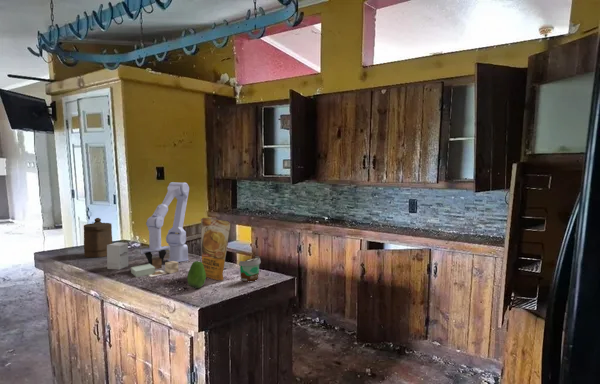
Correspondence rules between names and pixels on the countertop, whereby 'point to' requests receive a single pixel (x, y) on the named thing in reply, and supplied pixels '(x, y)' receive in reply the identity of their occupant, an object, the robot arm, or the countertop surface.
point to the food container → (249, 269)
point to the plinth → (143, 270)
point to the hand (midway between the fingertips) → (155, 265)
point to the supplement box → (117, 255)
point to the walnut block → (157, 263)
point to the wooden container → (97, 238)
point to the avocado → (196, 275)
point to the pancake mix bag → (214, 246)
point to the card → (158, 273)
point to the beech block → (171, 267)
